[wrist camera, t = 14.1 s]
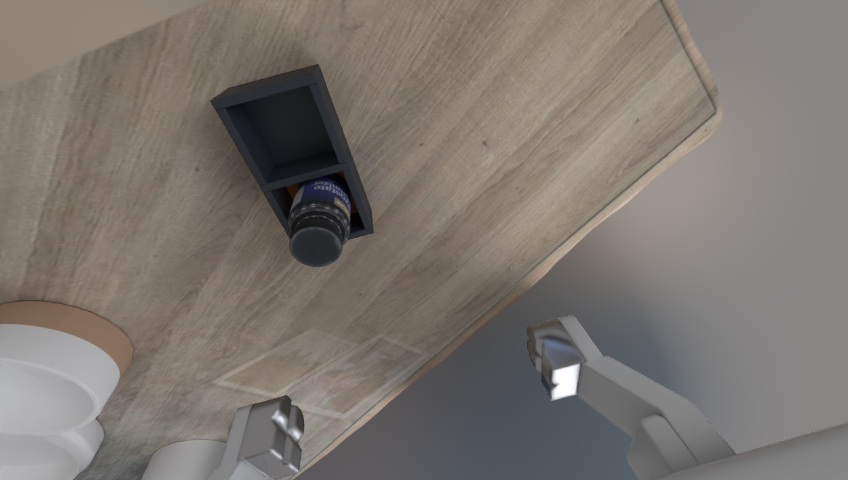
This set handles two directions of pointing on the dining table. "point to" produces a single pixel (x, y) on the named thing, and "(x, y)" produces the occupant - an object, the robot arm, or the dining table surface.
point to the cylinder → (185, 460)
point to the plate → (49, 454)
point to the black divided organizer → (292, 139)
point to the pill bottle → (319, 220)
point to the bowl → (56, 367)
